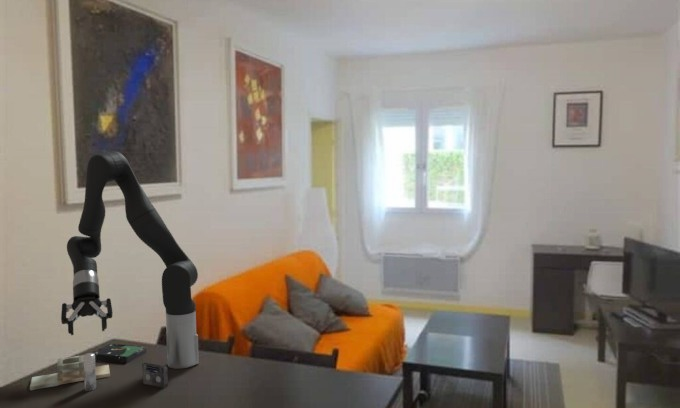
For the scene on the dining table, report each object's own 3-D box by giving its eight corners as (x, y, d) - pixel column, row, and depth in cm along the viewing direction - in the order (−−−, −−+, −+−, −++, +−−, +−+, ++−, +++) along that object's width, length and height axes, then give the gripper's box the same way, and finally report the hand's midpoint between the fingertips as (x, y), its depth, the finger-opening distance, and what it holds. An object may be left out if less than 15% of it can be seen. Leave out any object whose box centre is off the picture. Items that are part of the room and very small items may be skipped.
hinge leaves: (108, 367, 164) (108, 350, 163) (110, 376, 156) (109, 358, 156) (32, 380, 154) (31, 362, 154) (30, 390, 147) (29, 371, 147)
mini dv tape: (167, 386, 149) (167, 366, 149) (164, 388, 148) (163, 367, 147) (146, 381, 152) (146, 361, 152) (143, 383, 151) (142, 363, 151)
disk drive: (89, 361, 171) (127, 364, 167) (88, 353, 171) (127, 356, 167) (110, 351, 181) (146, 353, 177) (109, 343, 181) (146, 345, 177)
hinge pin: (96, 385, 150) (94, 352, 149) (96, 389, 147) (95, 355, 146) (84, 387, 148) (83, 353, 148) (84, 391, 146) (83, 357, 145)
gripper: (60, 283, 159) (60, 329, 150) (110, 278, 166) (113, 322, 156) (61, 296, 165) (62, 341, 155) (110, 291, 171) (113, 334, 161)
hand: (88, 331), depth 156 cm, fingers open, 8 cm apart
